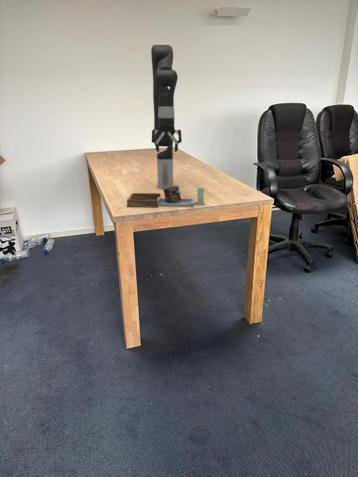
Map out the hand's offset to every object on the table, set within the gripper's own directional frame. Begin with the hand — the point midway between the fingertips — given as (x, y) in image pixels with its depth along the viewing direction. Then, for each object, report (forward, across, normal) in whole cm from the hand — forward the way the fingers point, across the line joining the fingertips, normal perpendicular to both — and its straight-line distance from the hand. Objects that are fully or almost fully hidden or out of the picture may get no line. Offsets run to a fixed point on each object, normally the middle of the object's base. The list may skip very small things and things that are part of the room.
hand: (166, 151), depth 175 cm
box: (+25, -3, +1) cm, 25 cm away
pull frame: (+26, -6, +1) cm, 27 cm away
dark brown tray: (+26, +12, +1) cm, 29 cm away
